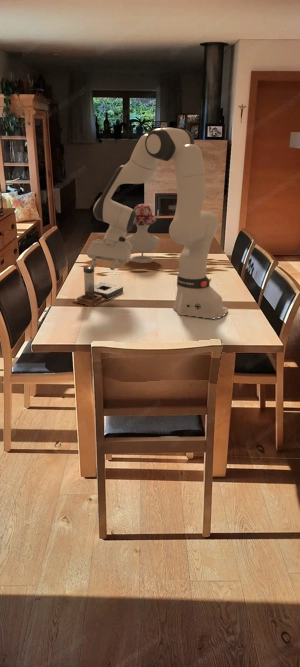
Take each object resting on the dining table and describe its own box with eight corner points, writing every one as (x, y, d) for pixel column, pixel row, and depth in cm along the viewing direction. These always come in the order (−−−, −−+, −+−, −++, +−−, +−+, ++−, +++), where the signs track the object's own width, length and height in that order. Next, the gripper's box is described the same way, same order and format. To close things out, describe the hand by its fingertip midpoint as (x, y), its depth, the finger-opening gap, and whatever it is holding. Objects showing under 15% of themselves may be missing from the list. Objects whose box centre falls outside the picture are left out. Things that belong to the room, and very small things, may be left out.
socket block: (123, 292, 226) (123, 286, 225) (107, 299, 217) (107, 294, 216) (101, 287, 232) (101, 282, 231) (85, 294, 223) (85, 289, 222)
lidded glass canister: (97, 298, 215) (96, 267, 209) (90, 301, 212) (89, 269, 206) (88, 297, 217) (87, 265, 212) (82, 299, 214) (81, 267, 208)
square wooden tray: (106, 300, 216) (106, 295, 215) (92, 306, 208) (91, 302, 208) (87, 295, 221) (87, 291, 220) (73, 302, 213) (72, 297, 212)
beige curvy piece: (160, 255, 289) (162, 201, 277) (158, 263, 272) (159, 207, 260) (128, 254, 290) (128, 200, 278) (123, 262, 274) (123, 206, 262)
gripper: (90, 234, 224) (79, 261, 220) (131, 239, 216) (120, 267, 212) (95, 242, 230) (85, 268, 225) (135, 247, 222) (125, 274, 217)
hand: (102, 267), depth 219 cm, fingers open, 8 cm apart
